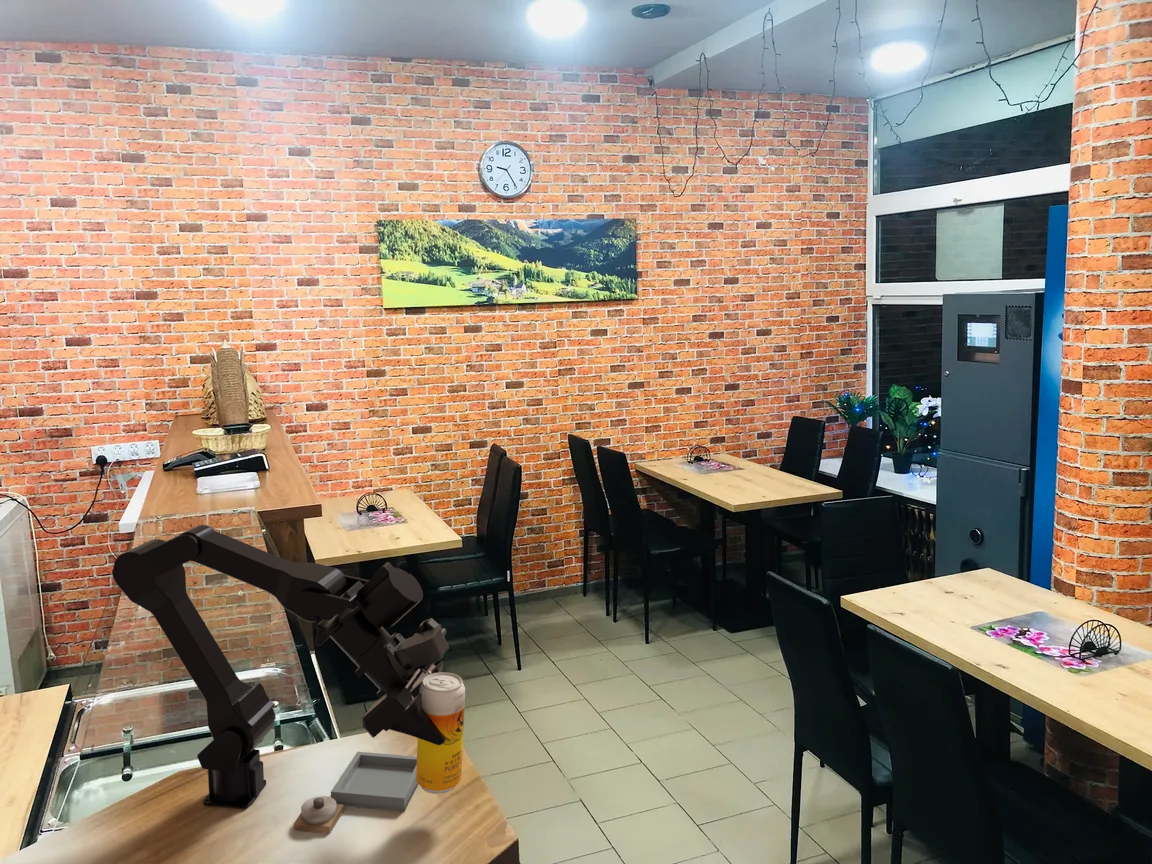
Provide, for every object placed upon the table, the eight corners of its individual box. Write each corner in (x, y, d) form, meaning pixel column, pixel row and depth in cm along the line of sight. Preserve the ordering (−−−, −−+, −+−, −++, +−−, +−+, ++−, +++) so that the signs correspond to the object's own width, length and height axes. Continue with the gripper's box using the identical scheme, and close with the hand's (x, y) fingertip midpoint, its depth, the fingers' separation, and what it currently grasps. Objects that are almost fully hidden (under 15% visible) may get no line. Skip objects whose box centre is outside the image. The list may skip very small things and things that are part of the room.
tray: (331, 804, 124) (330, 791, 124) (357, 763, 134) (357, 751, 134) (404, 811, 123) (404, 798, 122) (425, 769, 133) (425, 757, 133)
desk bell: (293, 830, 118) (293, 809, 118) (309, 808, 123) (308, 788, 122) (329, 833, 118) (329, 813, 117) (343, 811, 122) (343, 791, 122)
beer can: (452, 799, 117) (457, 695, 115) (409, 791, 118) (412, 687, 116) (466, 775, 123) (471, 674, 120) (425, 767, 124) (429, 668, 122)
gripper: (385, 638, 108) (473, 731, 108) (432, 585, 126) (506, 665, 126) (325, 692, 110) (411, 782, 111) (379, 633, 128) (453, 711, 129)
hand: (449, 731), depth 119 cm, fingers closed on beer can, 6 cm apart
